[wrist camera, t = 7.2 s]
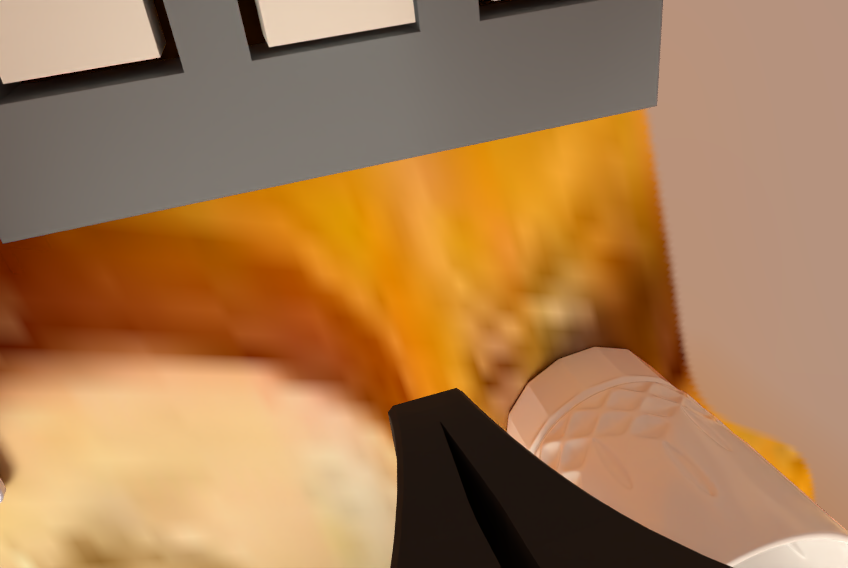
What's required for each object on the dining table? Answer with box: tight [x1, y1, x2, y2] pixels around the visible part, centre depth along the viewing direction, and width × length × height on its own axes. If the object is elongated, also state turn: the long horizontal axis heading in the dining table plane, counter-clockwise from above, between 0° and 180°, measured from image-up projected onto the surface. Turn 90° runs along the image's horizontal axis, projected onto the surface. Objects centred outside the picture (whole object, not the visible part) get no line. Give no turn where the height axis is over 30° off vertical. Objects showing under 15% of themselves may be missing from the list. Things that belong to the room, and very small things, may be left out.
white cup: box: [507, 347, 848, 568], centre depth 22 cm, size 8×8×10 cm
